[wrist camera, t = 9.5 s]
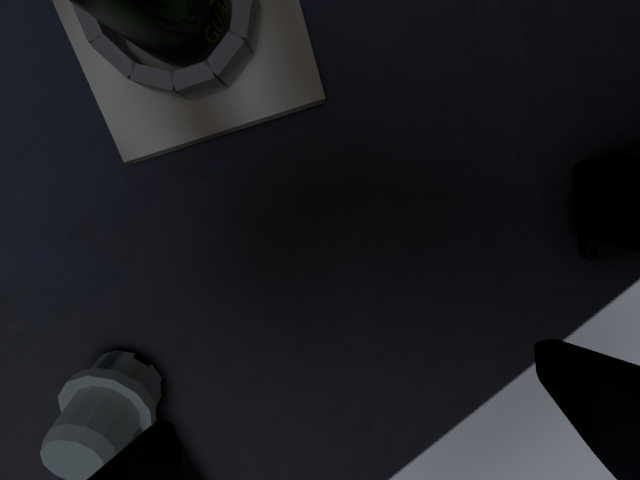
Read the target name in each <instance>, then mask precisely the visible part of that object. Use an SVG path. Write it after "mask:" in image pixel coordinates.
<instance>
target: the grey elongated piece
mask: <svg viewBox="0 0 640 480" xmlns="http://www.w3.org/2000/svg"><path fill="white" fill-rule="evenodd" d="M134 356H135V354H134V353H128V352H123V351H117V350H115V351H112V352H108V353H105V354H102V355H100V356H99V357H98V358H97V359H96V360H95V361H94V362H93V364H92V365H91V366H90V367H89V368H88V369H87V370H84V371H81V372H78V373H75V374H74V375H73V376H72V377H71V378H70V379H69V380H68V381H67V383H66V384H65V386H64V387H63V389H62V391H61V392H60V394H59V396H58V401H59V405H60V409H61V414H60V416H59V417H58V419H57V420H56V422H55V423H54V424H53V426H52V427H51V429H50V430H49V432H48V434H47V435H46V437H45V438H44V441H43V444H42V448H41V451H40V455H41V458H42V461H43V464H44V465H45V466H46V467H47V468H48V469H49V470H50V471H51V472H52V473H53V474H54V475H57V476H59V477H61V478H63V479H66V480H87V479H88V478H89V477H90V476H92V475H93V474H94V473H95V472H96V471H97V470H99V469H100V468H101V467H102V466H103V465H105V464H106V463H107V462H108V461H109V460H111V459H112V458H113V457H114V456H115V455H116V454H118V453H119V452H120V451H121V450H122V449H124V448H125V447H126V446H127V445H128V444H129V443H131V442H132V441H133V440H134V439H135V438H137V437H138V436H139V435H140V434H141V433H142V432H144V431H145V430H146V429H147V428H148V427H150V426H151V425H153V424H154V423H155V421H156V410H155V408H156V406H157V404H158V402H159V400H160V398H161V396H162V394H161V386H160V382H161V380H162V378H161V376H160V375H159V373H158V372H157V371H156V369H155V368H154V366H153V365H152V364H151V365H148V366H146V365H144V364H143V363H141V362H140V361H138V360H136V359H135V358H134Z"/></svg>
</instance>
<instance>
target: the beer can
mask: <svg viewBox="0 0 640 480" xmlns="http://www.w3.org/2000/svg"><path fill="white" fill-rule="evenodd" d="M69 1H71V2H72V3H73V4H75V5H76V6H78V7H79V8H81V9H82V10H84V11H85V12H87V13H88V14H90V15H91V16H93V17H94V18H96V19H97V20H99V21H100V22H102V23H103V24H104V25H106V26H107V27H109V28H110V29H112V30H113V31H115V32H116V33H118V34H119V35H121V36H122V37H124V38H125V39H127V40H128V41H130V42H131V43H132V44H134V45H135V46H137V47H138V48H140V49H141V50H143V51H144V52H146V53H147V54H149V55H150V56H152V57H154V58H156V59H158V60H160V61H162V62H164V63H166V64H172V65H179V66H186V65H191V64H196V63H200V62H202V61H204V60H205V59H207V58H208V57H209V56H210V55H211V54H212V52H213V51H214V50H215V48H216V47H217V46H218V44H219V43H220V42H221V41H222V39H223V38H224V37H225V35H226V32H227V29H228V26H229V24H230V7H231V3H230V0H69Z"/></svg>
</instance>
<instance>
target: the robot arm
mask: <svg viewBox="0 0 640 480" xmlns="http://www.w3.org/2000/svg"><path fill="white" fill-rule="evenodd" d="M585 167H586V168H587V169H586V172H585V173H584V169H585ZM574 174H575V186H576V198H577V210H578V221H579V233H580V245H581V254H582V256H583V257H584V258H586V259H589V260H597V259H601V258H604V257H608V256H612V255H615V254H619V253H623V252H626V251H630V250H632V251H636V252H640V145H638V146H634V147H631V148H627V149H624V150H621V151H617V152H614V153H610V154H607V155H603V156H600V157H597V158H593V159H590V160H586V161H583V162H580V163H579V164H578V165H577V166H576V167H575V170H574ZM592 250H593V252H592V253H591V251H592ZM590 253H591V254H590ZM534 351H535V363H536V372H537V376H538V378H539V380H540V382H541V383H542V385H543V386H544V387H545V389H546V390H547V391H548V393H549V394H550V396H551V397H552V398H553V399H554V401H555V402H556V404H557V405H558V406H559V407H560V409H561V410H562V412H563V413H564V414H565V415H566V417H567V418H568V420H569V421H570V422H571V424H572V425H573V426H574V428H575V429H576V430H577V432H578V433H579V434H580V436H581V437H582V438H583V440H584V441H585V442H586V444H587V445H588V446H589V447H590V449H591V450H592V451H593V452H594V454H595V455H596V456H597V457H598V458H599V460H600V461H601V462H602V463H603V464H604V465H605V467H606V468H607V469H608V470H609V471H610V472H611V473H612V475H613V476H614V477H615V478H616V479H617V480H640V366H639V365H636V364H632V363H629V362H626V361H623V360H620V359H617V358H614V357H611V356H608V355H604V354H601V353H598V352H595V351H592V350H589V349H586V348H582V347H580V346H576V345H573V344H570V343H567V342H564V341H561V340H558V339H548V340H544V341H539V342H537V343H536V344H535V346H534ZM182 456H183V447H182V444H181V442H180V439H179V437H178V435H177V433H176V431H175V428H174V426H173V424H172V423H171V422H170V421H164V422H160V423H155V424H153V425H151V426H150V427H148V428H147V429H146V430H145V431H144V432H142V433H141V434H140V435H139V436H138V437H137V438H135V439H134V440H133V441H132V442H131V443H129V444H128V445H127V446H126V447H125V448H124V449H122V450H121V451H120V452H119V453H118V454H116V455H115V456H114V457H113V458H112V459H111V460H109V461H108V462H107V463H106V464H105V465H103V466H102V467H101V468H100V469H99V470H97V471H96V472H95V473H94V474H93V475H92V476H90V477H89V478H88V479H87V480H176V479H177V475H178V472H179V468H180V464H181V460H182Z"/></svg>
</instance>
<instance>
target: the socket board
mask: <svg viewBox="0 0 640 480" xmlns="http://www.w3.org/2000/svg"><path fill="white" fill-rule="evenodd" d="M52 1H53V4H54V6H55V8H56V10H57V13H58V15H59V17H60V19H61V22H62V24H63V26H64V28H65V31H66V33H67V35H68V37H69V40H70V42H71V44H72V46H73V49H74V51H75V53H76V55H77V58H78V60H79V62H80V64H81V67H82V69H83V71H84V73H85V76H86V78H87V80H88V82H89V85H90V87H91V89H92V91H93V94H94V96H95V98H96V100H97V103H98V105H99V107H100V109H101V112H102V114H103V116H104V118H105V121H106V123H107V125H108V127H109V130H110V132H111V134H112V136H113V139H114V141H115V143H116V145H117V148H118V150H119V152H120V154H121V157H122V159H123V161H124V162H127V163H137V162H140V161H144V160H147V159H150V158H153V157H156V156H159V155H162V154H166V153H169V152H172V151H175V150H178V149H181V148H184V147H188V146H191V145H194V144H197V143H200V142H203V141H206V140H209V139H213V138H216V137H219V136H222V135H225V134H228V133H231V132H235V131H238V130H241V129H244V128H247V127H250V126H253V125H256V124H260V123H263V122H266V121H269V120H272V119H275V118H278V117H282V116H285V115H288V114H291V113H294V112H297V111H300V110H304V109H307V108H310V107H313V106H316V105H319V104H322V103H325V95H324V91H323V87H322V83H321V80H320V76H319V72H318V69H317V65H316V61H315V57H314V54H313V50H312V46H311V43H310V39H309V35H308V32H307V28H306V24H305V20H304V17H303V13H302V9H301V6H300V2H299V0H230V3H231V7H230V24H229V26H228V29H227V32H226V35H225V37H224V38H223V39H222V41H221V42H220V43H219V44H218V46H217V47H216V48H215V50H214V51H213V52H212V54H211V55H210V56H209V57H208V58H207V59H205V60H204V61H202V62H200V63H196V64H191V65H186V66H179V65H172V64H166V63H164V62H162V61H160V60H158V59H156V58H154V57H152V56H150V55H149V54H147V53H146V52H144V51H143V50H141V49H140V48H138V47H137V46H135V45H134V44H132V43H131V42H130V41H128V40H127V39H125V38H124V37H122V36H121V35H119V34H118V33H116V32H115V31H113V30H112V29H110V28H109V27H107V26H106V25H104V24H103V23H102V22H100V21H99V20H97V19H96V18H94V17H93V16H91V15H90V14H88V13H87V12H85V11H84V10H82V9H81V8H79V7H78V6H76V5H75V4H73V3H72V2H71V1H69V0H52Z"/></svg>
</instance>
